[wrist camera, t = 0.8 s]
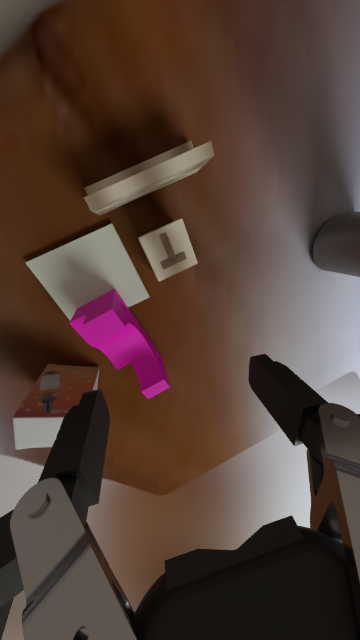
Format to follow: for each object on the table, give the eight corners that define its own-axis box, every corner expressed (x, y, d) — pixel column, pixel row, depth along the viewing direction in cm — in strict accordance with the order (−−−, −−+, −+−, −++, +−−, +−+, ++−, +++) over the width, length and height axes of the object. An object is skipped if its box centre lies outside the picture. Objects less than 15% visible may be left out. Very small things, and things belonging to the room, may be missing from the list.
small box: (100, 365, 34) (87, 416, 24) (97, 391, 36) (84, 447, 26) (47, 362, 31) (10, 417, 22) (47, 389, 33) (13, 451, 24)
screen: (189, 144, 24) (205, 118, 19) (197, 171, 25) (214, 155, 20) (85, 189, 24) (72, 176, 18) (99, 215, 25) (90, 210, 20)
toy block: (76, 308, 28) (62, 335, 21) (115, 288, 28) (112, 309, 22) (131, 373, 36) (133, 407, 29) (161, 356, 36) (170, 387, 29)
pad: (112, 223, 26) (111, 223, 25) (149, 295, 31) (149, 297, 30) (28, 261, 25) (25, 262, 24) (79, 328, 30) (78, 330, 29)
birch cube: (173, 221, 27) (182, 218, 22) (186, 258, 30) (198, 263, 25) (137, 237, 27) (138, 238, 22) (154, 273, 30) (159, 281, 24)
